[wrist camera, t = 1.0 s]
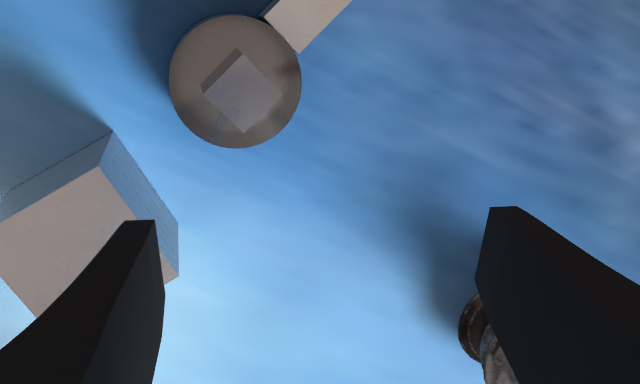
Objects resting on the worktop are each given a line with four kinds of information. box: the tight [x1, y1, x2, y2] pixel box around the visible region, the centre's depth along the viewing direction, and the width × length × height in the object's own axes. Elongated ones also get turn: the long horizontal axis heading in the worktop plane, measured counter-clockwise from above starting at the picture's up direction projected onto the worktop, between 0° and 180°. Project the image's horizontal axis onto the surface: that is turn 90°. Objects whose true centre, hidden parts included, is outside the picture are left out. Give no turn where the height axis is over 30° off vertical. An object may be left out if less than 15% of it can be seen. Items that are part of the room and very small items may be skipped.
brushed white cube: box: [0, 131, 179, 318], centre depth 24 cm, size 5×5×6 cm
